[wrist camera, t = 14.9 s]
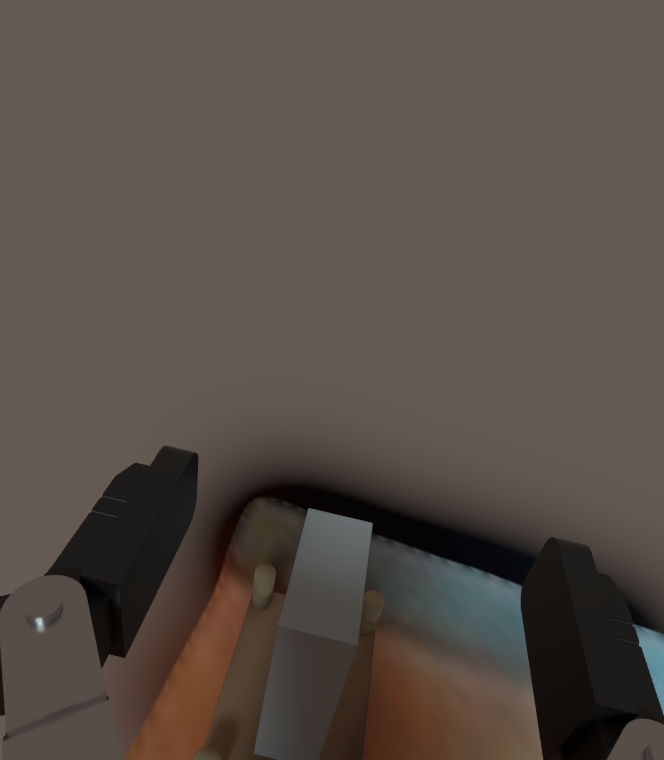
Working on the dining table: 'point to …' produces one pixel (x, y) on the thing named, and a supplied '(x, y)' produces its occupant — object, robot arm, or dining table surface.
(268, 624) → the peg stand
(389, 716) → the dining table surface
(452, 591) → the dining table surface
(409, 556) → the dining table surface
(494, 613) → the dining table surface
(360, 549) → the rectangular block
